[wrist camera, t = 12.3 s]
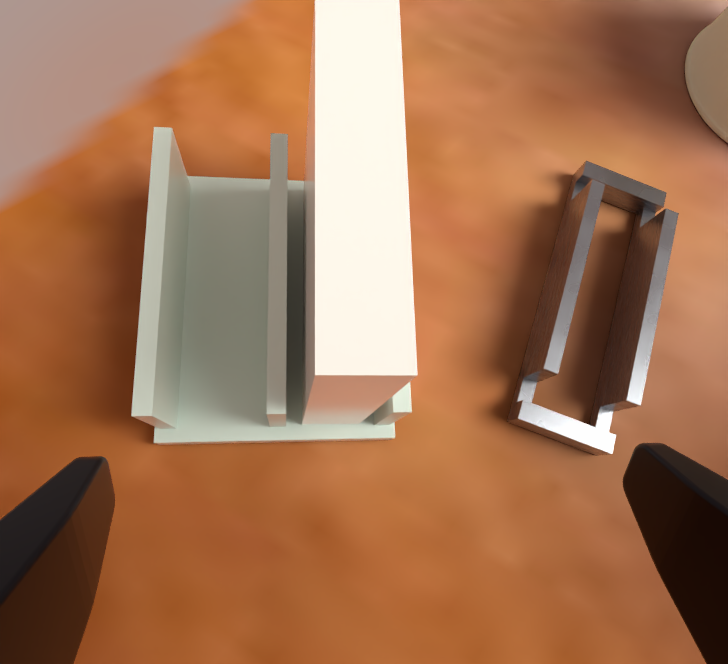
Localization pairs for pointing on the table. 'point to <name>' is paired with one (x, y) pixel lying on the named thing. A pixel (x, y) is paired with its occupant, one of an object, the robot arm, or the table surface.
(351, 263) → the white block
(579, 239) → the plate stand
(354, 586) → the table surface
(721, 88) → the can
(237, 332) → the dish rack
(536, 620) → the table surface
